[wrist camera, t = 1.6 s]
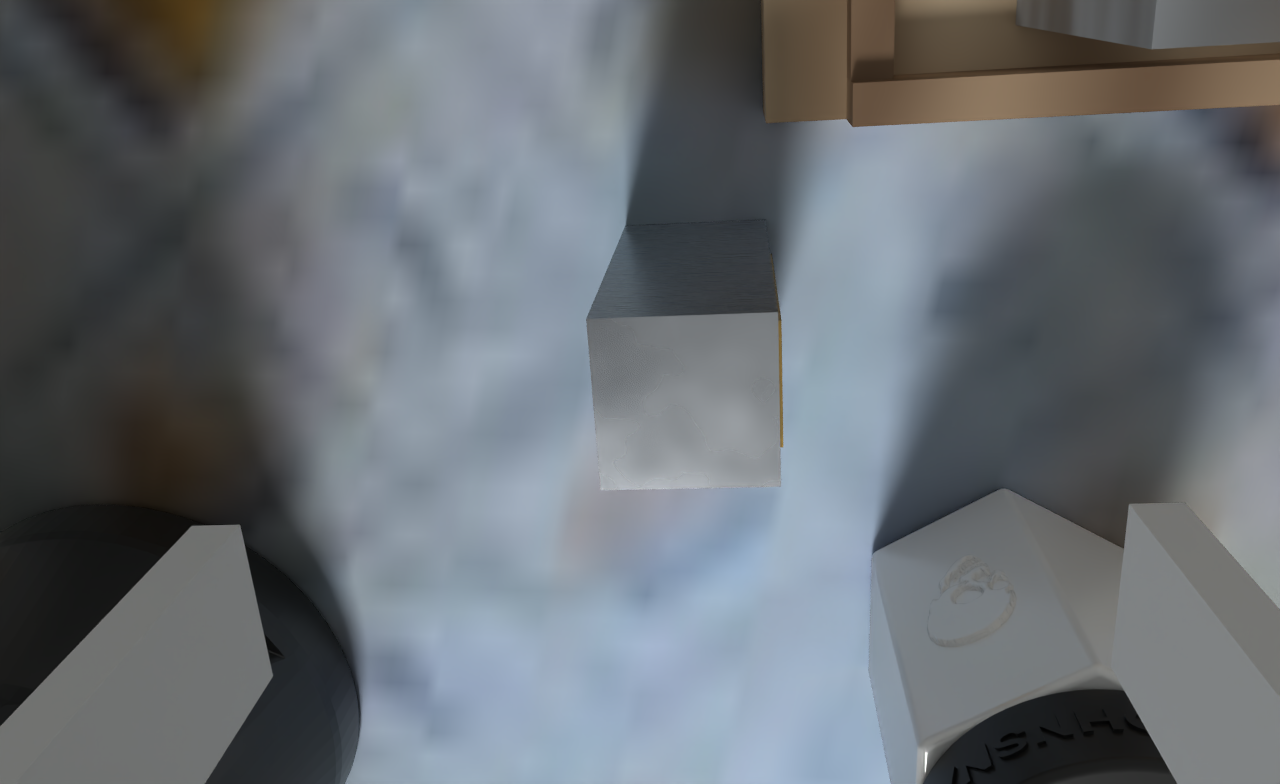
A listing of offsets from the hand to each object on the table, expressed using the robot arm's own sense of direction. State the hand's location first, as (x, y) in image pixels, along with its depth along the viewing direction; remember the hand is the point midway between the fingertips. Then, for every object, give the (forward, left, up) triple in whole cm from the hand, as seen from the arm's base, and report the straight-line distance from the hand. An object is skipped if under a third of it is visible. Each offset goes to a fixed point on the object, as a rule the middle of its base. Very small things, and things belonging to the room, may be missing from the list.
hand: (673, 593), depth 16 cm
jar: (+9, -11, -17) cm, 22 cm away
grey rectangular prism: (0, 0, -17) cm, 17 cm away
